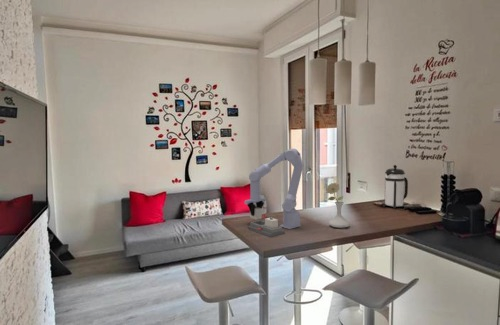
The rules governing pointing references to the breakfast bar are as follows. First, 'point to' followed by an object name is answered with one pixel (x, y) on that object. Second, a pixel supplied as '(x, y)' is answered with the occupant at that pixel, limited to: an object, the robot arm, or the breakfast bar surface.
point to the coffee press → (395, 187)
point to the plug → (257, 213)
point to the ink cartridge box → (263, 208)
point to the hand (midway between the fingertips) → (255, 214)
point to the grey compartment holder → (267, 227)
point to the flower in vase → (338, 219)
